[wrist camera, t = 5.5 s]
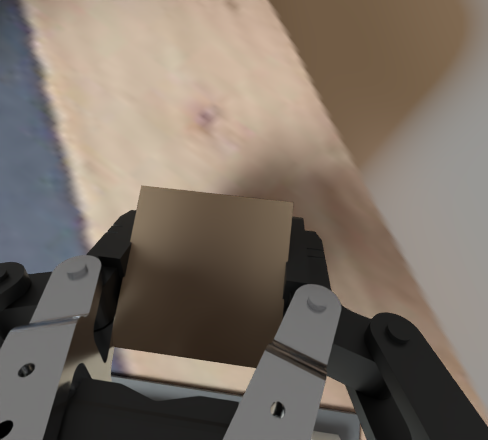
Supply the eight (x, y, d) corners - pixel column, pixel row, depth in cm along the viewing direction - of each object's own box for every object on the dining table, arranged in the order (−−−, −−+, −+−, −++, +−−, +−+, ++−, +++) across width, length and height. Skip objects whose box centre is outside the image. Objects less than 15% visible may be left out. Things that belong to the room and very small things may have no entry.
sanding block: (175, 312, 15) (109, 346, 8) (190, 223, 16) (141, 185, 9) (267, 325, 15) (277, 371, 8) (276, 233, 16) (293, 202, 9)
